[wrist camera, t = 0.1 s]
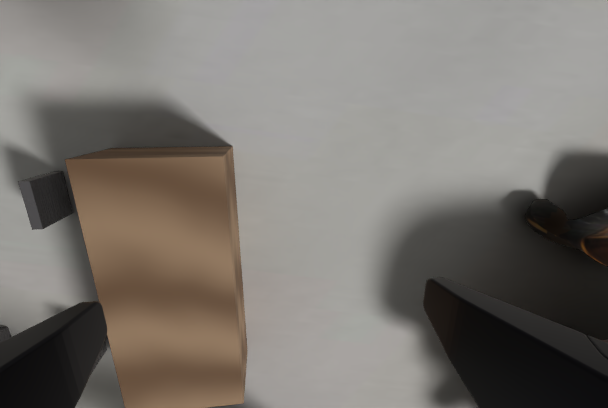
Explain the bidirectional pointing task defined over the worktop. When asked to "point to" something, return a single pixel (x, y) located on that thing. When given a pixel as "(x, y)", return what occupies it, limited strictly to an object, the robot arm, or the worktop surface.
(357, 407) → the worktop surface
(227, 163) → the cabinet
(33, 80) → the worktop surface
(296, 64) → the worktop surface
